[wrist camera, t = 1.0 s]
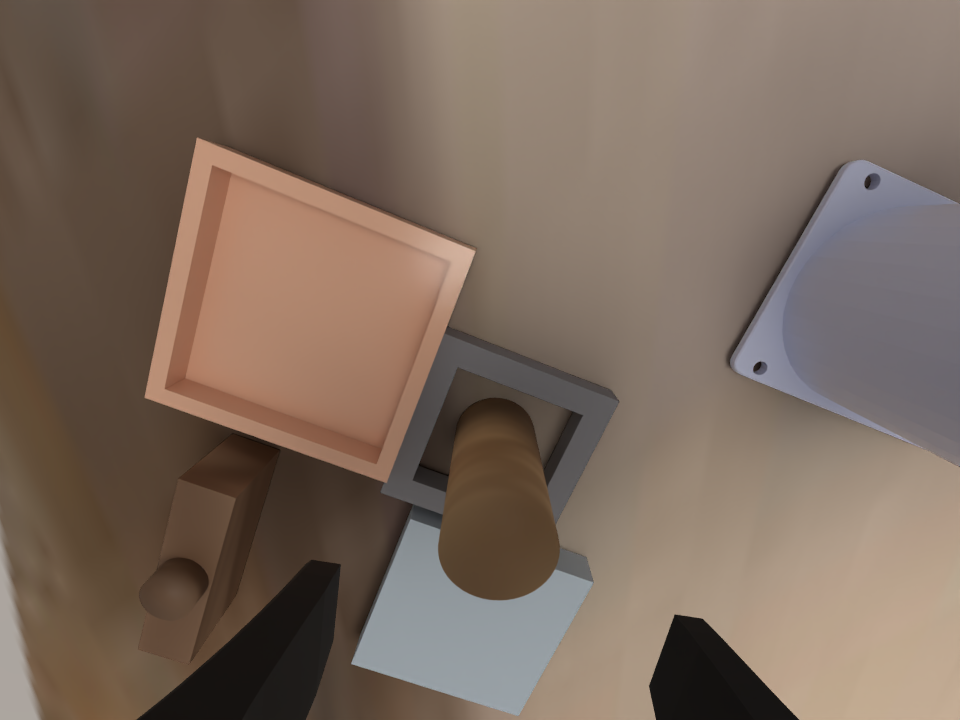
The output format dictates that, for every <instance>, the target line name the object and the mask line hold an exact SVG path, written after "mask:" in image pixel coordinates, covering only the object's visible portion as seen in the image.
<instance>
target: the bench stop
mask: <svg viewBox="0 0 960 720" xmlns="http://www.w3.org/2000/svg"><path fill="white" fill-rule="evenodd" d="M279 452H280V450H278V449H275V448H272V447H269V446H266V445H264V444H261V443H258V442H255V441H252V440H249V439H246V438H244V437H241V436H238V435H235V434H232V435H231V436H229V437H228V438H227V439H226V440H224V441H223V442H222V443H221V444H220V445H218V446H217V447H216V448H215V449H214V450H212V451H211V452H210V453H209V454H208V455H206V456H205V457H204V458H203V459H201V460H200V461H199V462H198V463H197V464H195V465H194V466H193V467H192V468H191V469H189V470H188V471H187V472H186V473H185V474H183V475H182V476H181V477H180V478H178V482H177V486H176V490H175V494H174V499H173V503H172V507H171V511H170V515H169V520H168V524H167V528H166V532H165V537H164V541H163V545H162V549H161V553H160V558H159V562H158V566H157V570H156V572H155V573H154V574H153V575H152V576H151V577H150V578H149V579H148V580H147V581H146V582H145V583H144V584H143V585H142V587H141V589H140V592H139V598H140V602H141V604H142V606H143V607H144V608H145V610H146V611H147V613H146V617H145V621H144V625H143V629H142V634H141V638H140V642H139V646H138V650H141V651H145V652H148V653H151V654H155V655H158V656H161V657H164V658H168V659H171V660H174V661H178V662H181V663H184V664H188V665H189V664H190V663H191V661H192V660H193V658H194V657H195V655H196V654H197V652H198V651H199V649H200V648H201V647H202V645H203V644H204V642H205V641H206V639H207V638H208V636H209V635H210V633H211V632H212V630H213V629H214V627H215V626H216V624H217V623H218V621H219V620H220V618H221V617H222V615H223V614H224V613H225V611H226V610H227V608H228V607H229V605H230V604H231V602H232V601H233V599H234V598H235V596H236V594H237V590H238V587H239V584H240V581H241V577H242V574H243V571H244V567H245V564H246V561H247V557H248V554H249V551H250V547H251V544H252V541H253V538H254V534H255V531H256V528H257V524H258V521H259V518H260V514H261V511H262V508H263V504H264V501H265V498H266V495H267V491H268V488H269V485H270V481H271V478H272V475H273V471H274V468H275V465H276V461H277V458H278V455H279Z"/></svg>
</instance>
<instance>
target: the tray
mask: <svg viewBox="0 0 960 720" xmlns="http://www.w3.org/2000/svg"><path fill="white" fill-rule="evenodd" d="M476 250H477V248H475V247H472V246H470V245H467V244H465V243H462V242H460V241H457V240H455V239H453V238H450V237H448V236H445V235H443V234H440V233H438V232H435V231H433V230H431V229H428V228H426V227H423V226H421V225H418V224H416V223H413V222H411V221H409V220H406V219H404V218H401V217H399V216H396V215H394V214H391V213H389V212H387V211H384V210H382V209H379V208H377V207H374V206H372V205H369V204H367V203H365V202H362V201H360V200H357V199H355V198H352V197H350V196H347V195H345V194H343V193H340V192H338V191H335V190H333V189H330V188H328V187H325V186H323V185H321V184H318V183H316V182H313V181H311V180H308V179H306V178H303V177H301V176H298V175H296V174H294V173H291V172H289V171H286V170H284V169H281V168H279V167H276V166H274V165H272V164H269V163H267V162H264V161H262V160H259V159H257V158H254V157H252V156H250V155H247V154H245V153H242V152H240V151H237V150H235V149H232V148H230V147H227V146H224V145H220V144H217V143H214V142H210V141H207V140H203V139H200V138H197V141H196V146H195V151H194V155H193V160H192V165H191V170H190V175H189V180H188V185H187V190H186V195H185V200H184V205H183V210H182V215H181V220H180V225H179V230H178V235H177V240H176V245H175V250H174V255H173V260H172V265H171V270H170V275H169V279H168V284H167V289H166V294H165V299H164V304H163V309H162V314H161V319H160V324H159V329H158V334H157V339H156V344H155V349H154V354H153V359H152V364H151V369H150V374H149V379H148V384H147V389H146V394H145V398H147V399H150V400H153V401H155V402H158V403H161V404H164V405H167V406H170V407H172V408H175V409H178V410H181V411H184V412H187V413H189V414H192V415H195V416H198V417H201V418H204V419H206V420H209V421H212V422H215V423H218V424H221V425H223V426H226V427H229V428H232V429H235V430H238V431H240V432H243V433H246V434H249V435H252V436H255V437H257V438H260V439H263V440H266V441H269V442H272V443H274V444H277V445H280V446H283V447H286V448H289V449H291V450H294V451H297V452H300V453H303V454H306V455H308V456H311V457H314V458H317V459H320V460H323V461H325V462H328V463H331V464H334V465H337V466H340V467H342V468H345V469H348V470H351V471H354V472H357V473H359V474H362V475H365V476H368V477H371V478H374V479H376V480H379V481H382V482H385V483H387V481H388V478H389V476H390V473H391V470H392V468H393V465H394V463H395V460H396V457H397V455H398V452H399V450H400V447H401V444H402V442H403V439H404V437H405V434H406V431H407V429H408V426H409V424H410V421H411V418H412V416H413V413H414V411H415V408H416V405H417V403H418V400H419V398H420V395H421V392H422V390H423V387H424V385H425V382H426V379H427V377H428V374H429V372H430V369H431V366H432V364H433V361H434V359H435V356H436V353H437V351H438V348H439V346H440V343H441V340H442V338H443V335H444V333H445V330H446V328H447V325H448V323H449V320H450V317H451V315H452V312H453V310H454V307H455V304H456V302H457V299H458V297H459V294H460V291H461V289H462V286H463V284H464V281H465V278H466V276H467V273H468V271H469V268H470V265H471V263H472V260H473V258H474V255H475V252H476Z"/></svg>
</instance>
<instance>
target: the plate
mask: <svg viewBox="0 0 960 720" xmlns="http://www.w3.org/2000/svg"><path fill="white" fill-rule="evenodd" d="M442 516H443V515H442V514H439V513H437V512H434V511H431V510H428V509H425V508H422V507H420V506H417V505H414V504H413V506H412V509H411V511H410V514H409V516H408V519H407V521H406V524H405V526H404V528H403V531H402V533H401V536H400V538H399V541H398V543H397V546H396V548H395V551H394V553H393V556H392V558H391V560H390V563H389V565H388V568H387V570H386V573H385V575H384V578H383V580H382V583H381V585H380V587H379V590H378V592H377V595H376V597H375V600H374V602H373V605H372V607H371V610H370V612H369V615H368V617H367V619H366V622H365V624H364V627H363V629H362V632H361V634H360V637H359V641H358V644H357V647H356V650H355V653H354V657H353V660H352V663H351V664H353V665H357V666H360V667H363V668H366V669H369V670H372V671H376V672H379V673H382V674H385V675H388V676H392V677H395V678H398V679H401V680H404V681H408V682H411V683H414V684H417V685H420V686H424V687H427V688H430V689H433V690H436V691H440V692H443V693H446V694H449V695H452V696H456V697H459V698H462V699H465V700H468V701H472V702H475V703H478V704H481V705H484V706H487V707H491V708H494V709H497V710H500V711H503V712H507V713H510V714H513V715H516V716H519V714H520V712H521V710H522V709H523V707H524V705H525V703H526V701H527V700H528V698H529V696H530V694H531V693H532V691H533V689H534V687H535V686H536V684H537V682H538V680H539V678H540V677H541V675H542V673H543V671H544V670H545V668H546V666H547V664H548V663H549V661H550V659H551V657H552V656H553V654H554V652H555V650H556V648H557V647H558V645H559V643H560V641H561V640H562V638H563V636H564V634H565V633H566V631H567V629H568V627H569V625H570V624H571V622H572V620H573V618H574V617H575V615H576V613H577V611H578V610H579V608H580V606H581V604H582V602H583V601H584V599H585V597H586V595H587V594H588V592H589V590H590V588H591V587H592V585H593V583H594V582H593V578H592V575H591V571H590V568H589V565H588V561H587V558H586V557H584V556H581V555H579V554H576V553H573V552H570V551H567V550H564V549H561V548H560V554H559V560H558V563H557V566H556V568H555V570H554V572H553V574H552V575H551V577H550V578H549V579H548V580H547V581H546V582H545V583H544V584H543V585H542V586H541V587H539V588H538V589H537V590H535V591H533V592H532V593H530V594H528V595H525V596H523V597H519V598H516V599H511V600H500V601H498V600H487V599H482V598H479V597H475V596H473V595H470V594H468V593H466V592H465V591H463V590H461V589H460V588H459V587H457V586H456V585H455V584H454V583H453V582H452V581H451V580H450V579H449V578H448V577H447V575H446V574H445V572H444V571H443V568H442V566H441V564H440V560H439V556H438V542H439V536H440V529H441V523H442Z"/></svg>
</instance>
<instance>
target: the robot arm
mask: <svg viewBox="0 0 960 720" xmlns="http://www.w3.org/2000/svg"><path fill="white" fill-rule="evenodd" d="M868 175H869V176H870V177H871V184H870V186H869V187H868V188H867V189H866V188H865V186H864V181H865V178H866V177H867V176H868ZM760 361H761V368H760V369H759V370H758V371H755V372H753V367H754V365H755V364H756V363H757V362H760ZM730 366H731V368H732V369H733V370H734V371H735V372H737V373H738V374H740V375H742V376H745V377H747V378H750V379H752V380H755V381H757V382H760V383H762V384H765V385H767V386H770V387H772V388H774V389H777V390H779V391H782V392H784V393H787V394H789V395H792V396H794V397H797V398H799V399H802V400H804V401H807V402H809V403H812V404H814V405H816V406H819V407H821V408H824V409H826V410H829V411H831V412H834V413H836V414H839V415H841V416H844V417H846V418H849V419H851V420H854V421H856V422H858V423H861V424H863V425H866V426H868V427H871V428H873V429H876V430H878V431H881V432H883V433H886V434H888V435H891V436H893V437H896V438H898V439H900V440H903V441H905V442H908V443H910V444H913V445H915V446H918V447H920V448H923V449H925V450H928V451H930V452H932V453H934V454H935V455H937V456H939V457H941V458H943V459H945V460H947V461H949V462H951V463H953V464H955V465H957V466H959V467H960V204H959V203H957V202H955V201H953V200H951V199H949V198H946V197H944V196H942V195H940V194H938V193H936V192H934V191H931V190H929V189H927V188H925V187H923V186H921V185H918V184H916V183H914V182H912V181H910V180H908V179H906V178H903V177H901V176H899V175H897V174H895V173H893V172H891V171H888V170H886V169H884V168H882V167H880V166H878V165H875V164H873V163H871V162H869V161H866V160H856V161H851V162H848V163H846V164H845V165H843V166H842V168H841V169H840V170H839V171H838V173H837V175H836V177H835V178H834V180H833V182H832V184H831V185H830V187H829V189H828V190H827V192H826V194H825V196H824V197H823V199H822V201H821V203H820V204H819V206H818V208H817V209H816V211H815V213H814V215H813V216H812V218H811V220H810V222H809V223H808V225H807V227H806V229H805V230H804V232H803V234H802V235H801V237H800V239H799V241H798V242H797V244H796V246H795V248H794V249H793V251H792V253H791V254H790V256H789V258H788V260H787V261H786V263H785V265H784V267H783V268H782V270H781V272H780V274H779V275H778V277H777V279H776V280H775V282H774V284H773V286H772V287H771V289H770V291H769V293H768V294H767V296H766V298H765V299H764V301H763V303H762V305H761V306H760V308H759V310H758V312H757V313H756V315H755V317H754V319H753V320H752V322H751V324H750V325H749V327H748V329H747V331H746V332H745V334H744V336H743V338H742V339H741V341H740V343H739V345H738V346H737V348H736V350H735V351H734V353H733V355H732V357H731V360H730ZM340 567H341V564H335V563H329V562H322V561H316V560H311V561H310V562H308V563H306V564H305V566H304V567H303V568H302V569H301V570H300V571H299V572H298V573H297V574H296V575H295V576H294V578H293V579H292V580H291V581H290V582H289V583H288V584H287V585H286V586H285V587H284V588H283V589H282V590H281V591H280V592H279V593H278V594H277V595H276V596H275V597H274V598H273V599H272V600H271V601H270V602H269V603H268V604H267V605H266V606H265V607H264V608H263V609H262V610H261V611H260V612H259V613H258V614H257V615H256V616H255V617H254V618H253V619H252V620H251V621H250V622H249V623H248V624H247V625H246V626H245V627H244V628H243V629H241V630H240V631H239V632H238V633H237V634H236V635H235V636H234V637H233V638H232V639H231V640H230V641H229V642H228V643H227V644H226V645H224V646H223V647H222V648H221V649H220V650H219V651H218V652H217V653H215V654H214V655H213V656H212V657H211V658H210V659H209V660H207V661H206V662H205V663H204V664H203V665H202V666H201V667H199V668H198V669H197V670H196V671H195V672H194V673H193V674H191V675H190V676H189V677H188V678H187V679H186V680H185V681H183V682H182V683H181V684H180V685H179V686H178V687H176V688H175V689H174V690H173V691H172V692H170V693H169V694H168V695H167V696H165V697H164V698H163V699H162V700H161V701H159V702H158V703H157V704H156V705H154V706H153V707H152V708H151V709H149V710H148V711H147V712H146V713H144V714H143V715H142V716H140V717H139V718H138V719H137V720H306V718H307V715H308V713H309V710H310V708H311V706H312V703H313V701H314V698H315V696H316V693H317V690H318V687H319V684H320V681H321V678H322V675H323V672H324V668H325V665H326V662H327V659H328V656H329V652H330V649H331V646H332V643H333V638H334V628H335V618H336V608H337V597H338V587H339V577H340ZM649 688H650V693H651V698H652V702H653V707H654V712H655V716H656V720H799V719H798V718H797V717H796V716H795V715H794V714H793V713H792V712H791V711H790V710H789V709H788V708H787V707H786V706H785V705H784V704H783V703H782V702H781V701H780V699H779V698H778V697H777V696H776V695H775V694H774V693H773V692H772V691H771V690H770V689H769V688H768V687H767V686H766V685H765V684H764V683H763V681H762V680H761V679H760V678H759V677H758V676H757V675H756V674H755V673H754V672H753V671H752V670H751V669H750V668H749V667H748V665H747V664H746V663H745V662H744V661H743V660H742V659H741V658H740V657H739V656H738V655H737V654H736V653H735V652H734V651H733V650H732V648H731V647H730V646H729V645H728V644H727V643H726V642H725V641H724V640H723V639H722V638H721V637H720V636H719V635H718V634H717V633H716V632H715V631H714V630H713V629H712V628H711V627H710V626H709V625H708V624H707V623H706V622H705V621H704V620H703V619H701V618H694V617H688V616H681V615H675V616H674V618H673V621H672V624H671V627H670V629H669V632H668V635H667V638H666V641H665V643H664V646H663V649H662V652H661V654H660V657H659V660H658V663H657V666H656V668H655V671H654V674H653V677H652V679H651V682H650V685H649Z"/></svg>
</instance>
